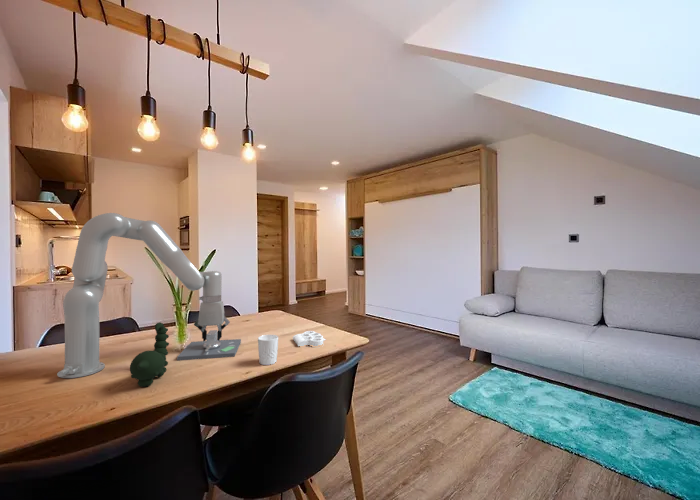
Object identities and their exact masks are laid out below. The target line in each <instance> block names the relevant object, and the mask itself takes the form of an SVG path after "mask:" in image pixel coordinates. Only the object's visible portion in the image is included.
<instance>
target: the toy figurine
mask: <svg viewBox="0 0 700 500" xmlns="http://www.w3.org/2000/svg"><path fill="white" fill-rule="evenodd" d="M154 330H155V333H156V335H155V336H154V339H155V342H154V344H153V350H144V351H142V352H140V353H138V354H137V355H136V356H135V357H134V358H133V359H132V360H131V363H130V364H129V371H130V377H131V378H132V379H135V380H137V385H138V386H139V387H142V388H143V387H149V386H151V385H152V384H153V383H154V379H155V378H156V377H158V378H160V377H161V378H162V377H163V376H164V373H166V372H167V366H168V365H169V362H168V360H167V357H166V356H168V354H169V351H168V349H167V347H169V345H170V342H167V340H168V339H169V337H170V336H169V334H167V332H168V330H169V329H168V328H167V327H166V326H165V325H164V323H162V322H161V321H160V322H157V323H155V325H154Z"/></svg>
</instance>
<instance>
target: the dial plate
mask: <svg viewBox="0 0 700 500" xmlns="http://www.w3.org/2000/svg"><path fill="white" fill-rule="evenodd" d="M217 341H219V342H220V347H219V348H216V349H210V350H208V351H205V350H206V349H203V344H204V343H206V340H205V341H203V340H201V341H191V342H190V343H189V344H188V345H186V347H185V348H184V349H183V350H182V351H181V352H180V353H179V354H178V355H177V356H176V360H177V361H190V360H203V359H205V360H206V359H219V358H220V359H221V358H222V359H223V358H231V357H232V358H233V357H236V354H237V352H238V350H239V349H240V348H239V347H240V345H241V343H242V339H241V338H238V339H237V338H235V339H220V340H217Z"/></svg>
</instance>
